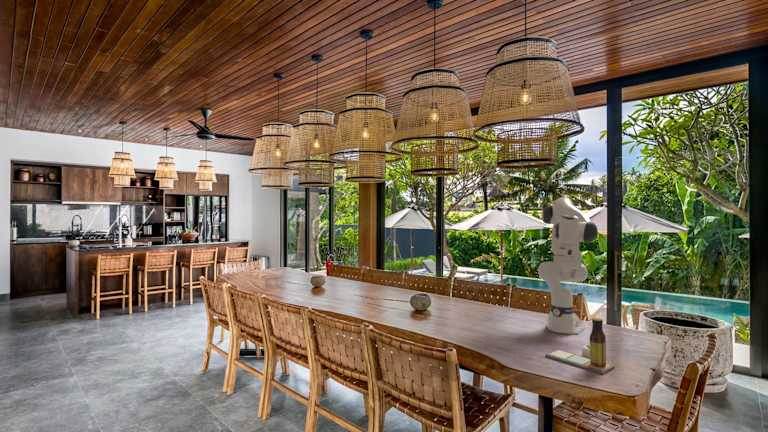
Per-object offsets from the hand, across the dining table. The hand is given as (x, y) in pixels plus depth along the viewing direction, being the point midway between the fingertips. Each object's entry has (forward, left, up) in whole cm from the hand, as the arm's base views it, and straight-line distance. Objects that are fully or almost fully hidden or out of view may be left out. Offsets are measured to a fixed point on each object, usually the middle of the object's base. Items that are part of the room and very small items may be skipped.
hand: (568, 279), depth 182 cm
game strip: (+5, +8, -36) cm, 37 cm away
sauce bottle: (+4, +16, -35) cm, 38 cm away
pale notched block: (-5, +8, -36) cm, 37 cm away
